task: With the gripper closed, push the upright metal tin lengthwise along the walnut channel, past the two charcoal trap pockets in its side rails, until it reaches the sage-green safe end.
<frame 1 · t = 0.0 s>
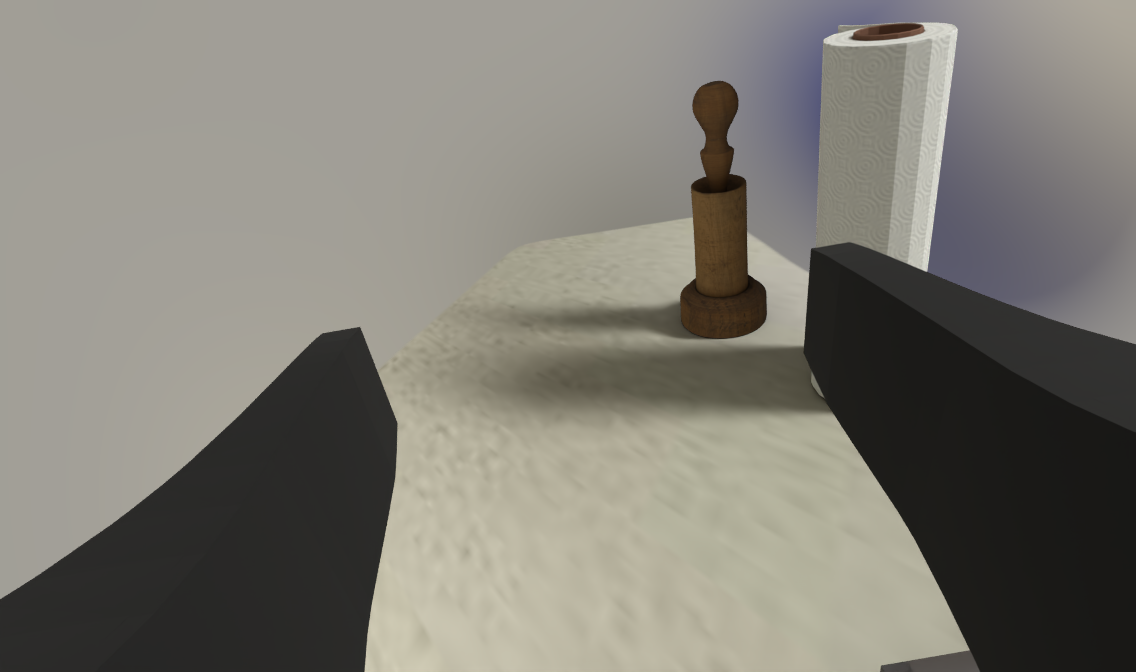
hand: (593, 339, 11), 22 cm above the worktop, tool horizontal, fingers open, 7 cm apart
mortar and pestle: (723, 320, 54), on the worktop
paper towel roll: (861, 382, 44), on the worktop
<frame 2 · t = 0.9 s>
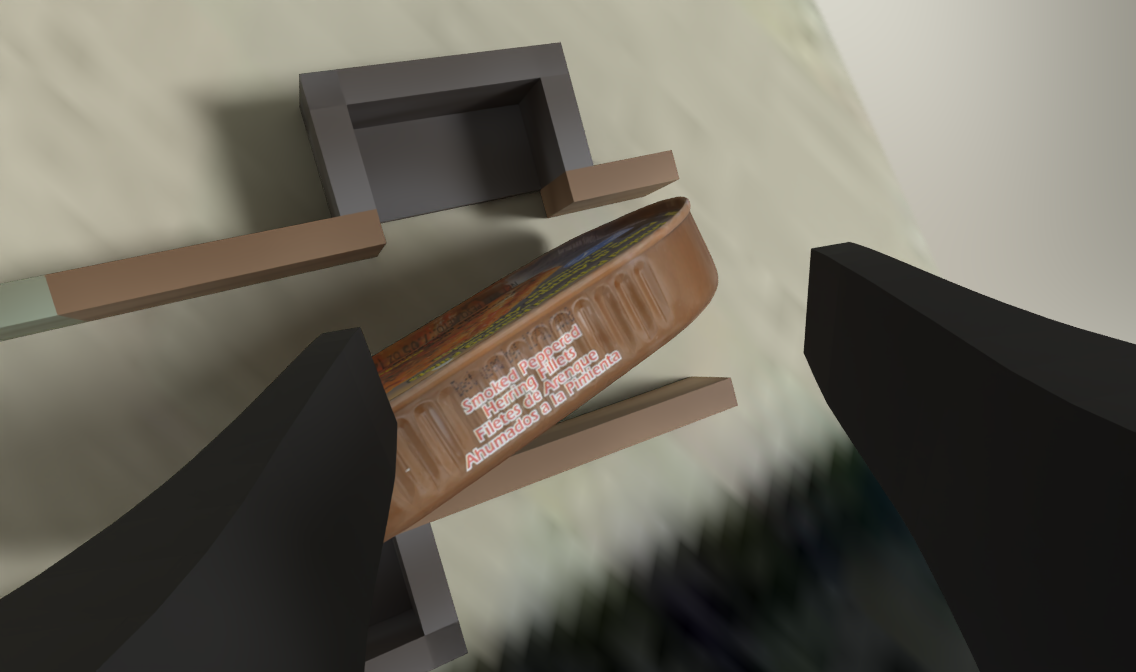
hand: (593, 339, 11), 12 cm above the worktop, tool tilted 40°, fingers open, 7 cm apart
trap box: (376, 370, 21), on the worktop
tin: (447, 365, 22), on the worktop
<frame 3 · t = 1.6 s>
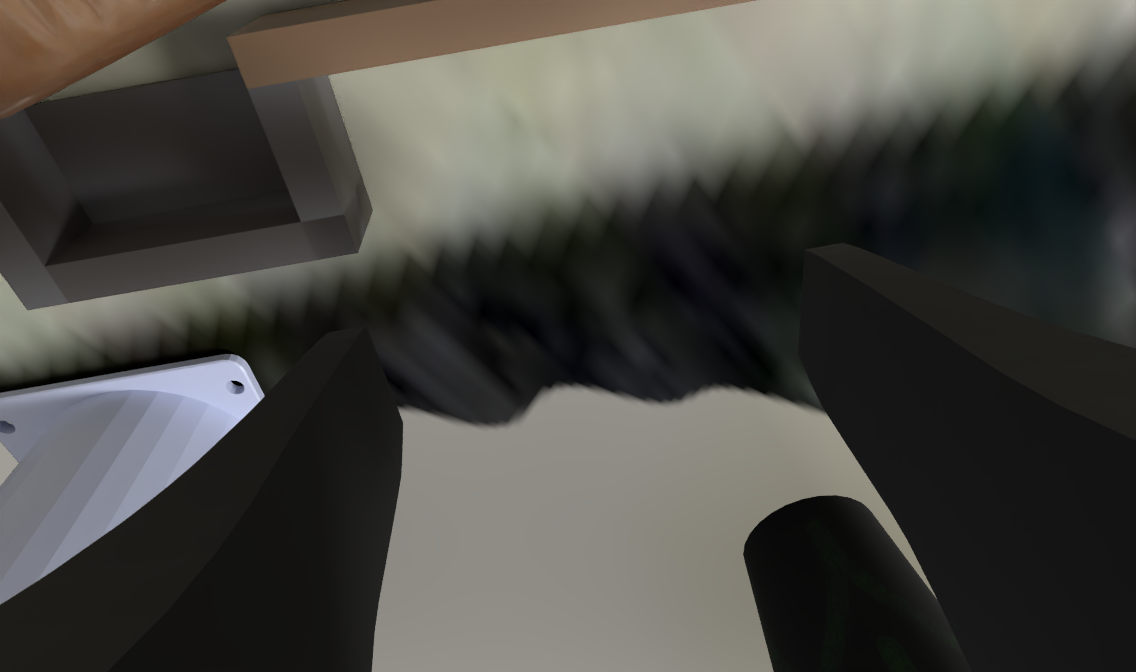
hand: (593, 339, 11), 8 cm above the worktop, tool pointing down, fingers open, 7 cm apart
cup: (807, 537, 28), on the worktop
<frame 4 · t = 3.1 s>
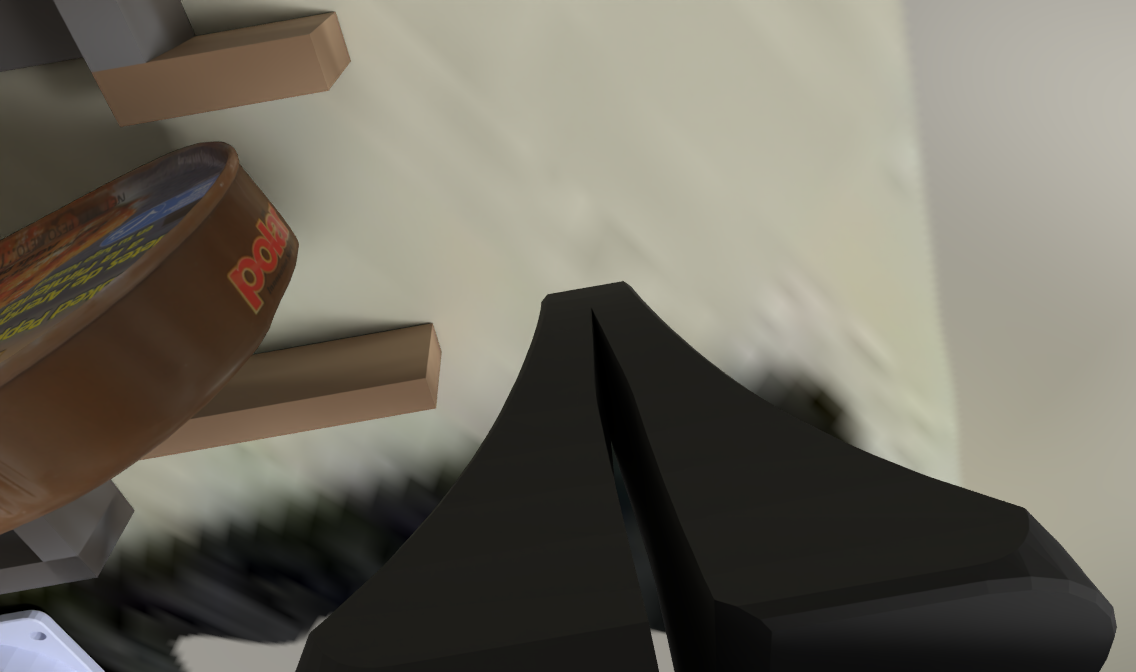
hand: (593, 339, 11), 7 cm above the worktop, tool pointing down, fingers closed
tin: (68, 279, 17), on the worktop
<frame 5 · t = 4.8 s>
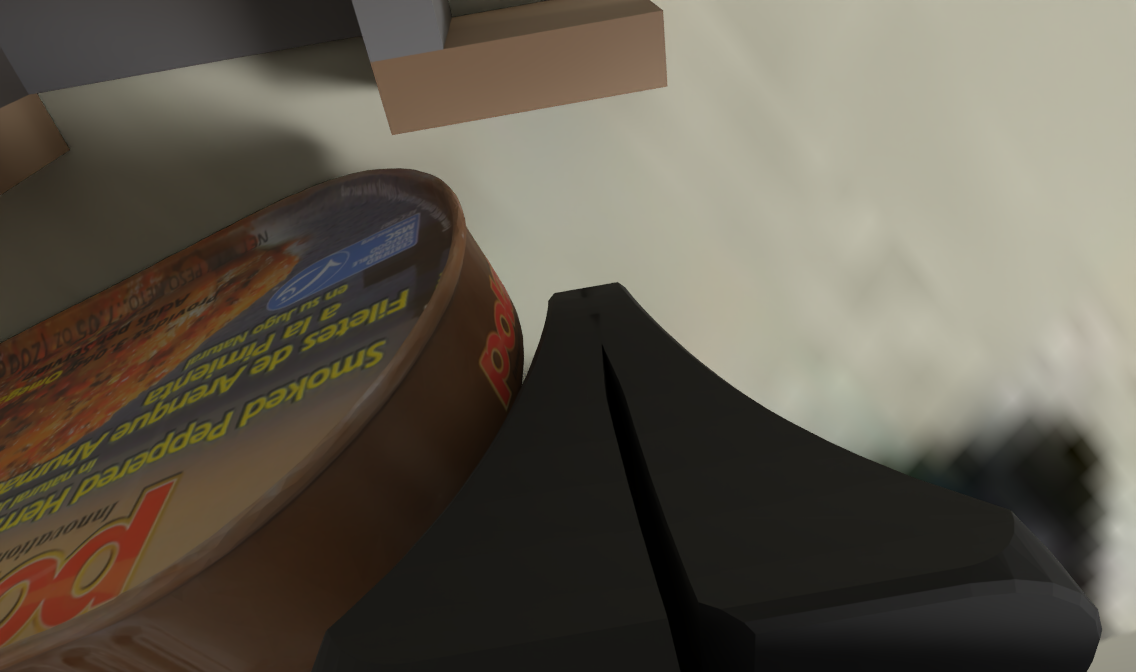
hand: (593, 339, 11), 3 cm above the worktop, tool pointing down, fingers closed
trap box: (118, 324, 14), on the worktop
tin: (182, 332, 14), on the worktop, touching gripper
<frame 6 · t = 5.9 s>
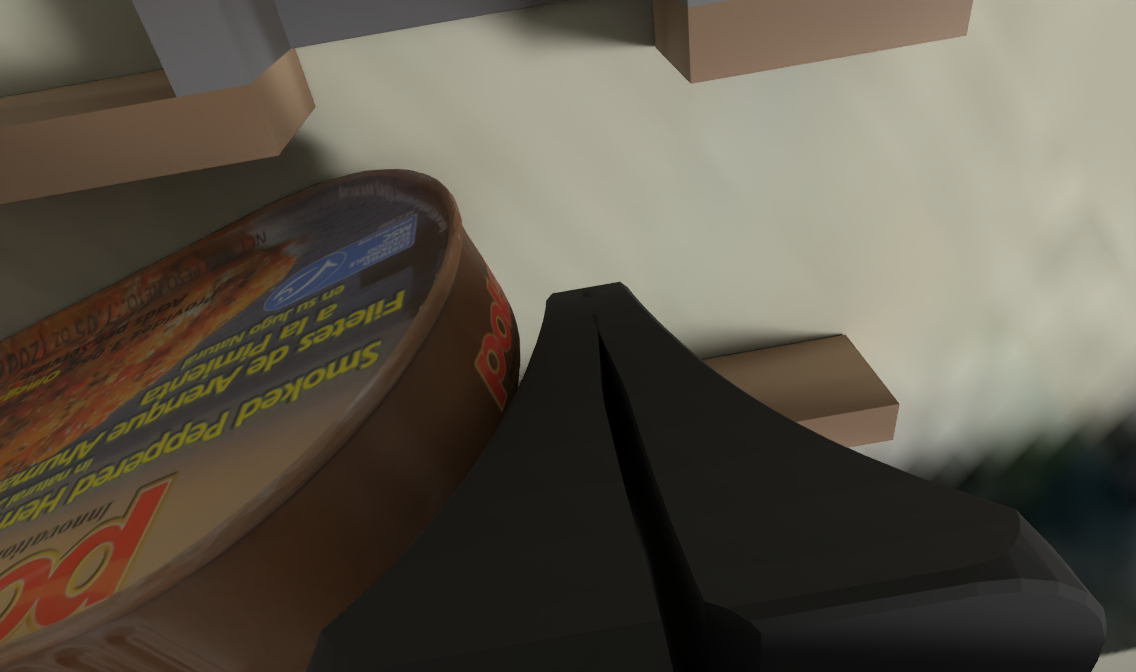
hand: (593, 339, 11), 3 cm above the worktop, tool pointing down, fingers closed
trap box: (328, 287, 14), on the worktop
tin: (180, 332, 14), on the worktop, touching gripper
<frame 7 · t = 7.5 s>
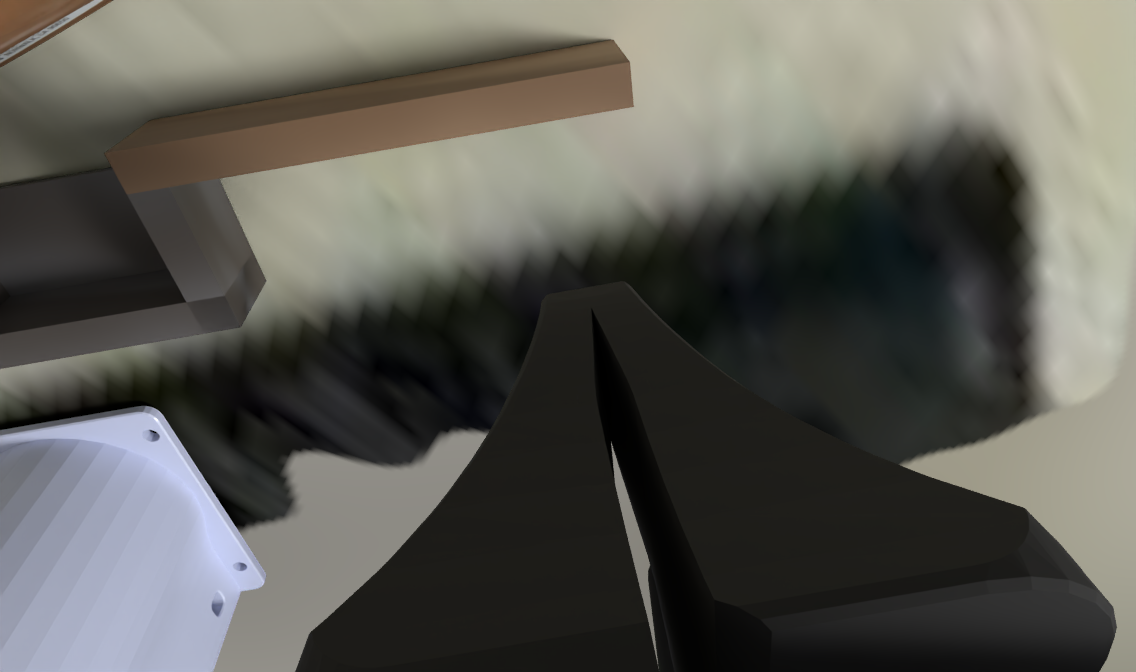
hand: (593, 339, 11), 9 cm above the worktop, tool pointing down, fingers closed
cup: (708, 563, 30), on the worktop
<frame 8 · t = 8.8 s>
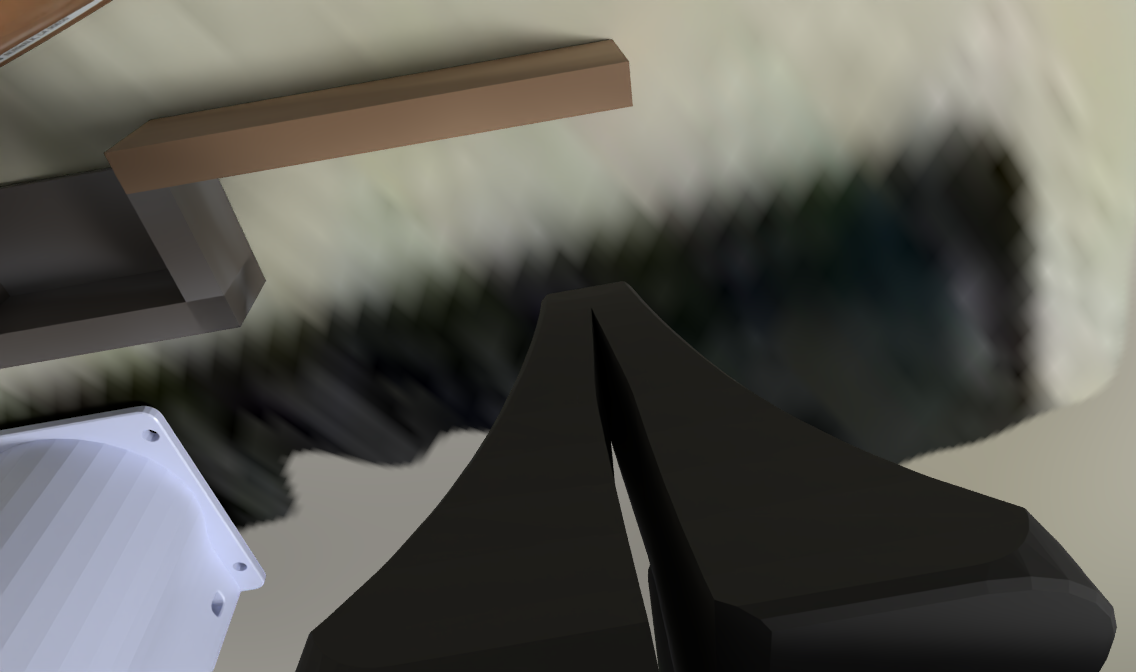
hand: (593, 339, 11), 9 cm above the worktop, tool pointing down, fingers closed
cup: (708, 563, 30), on the worktop
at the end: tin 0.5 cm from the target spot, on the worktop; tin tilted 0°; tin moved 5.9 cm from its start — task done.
